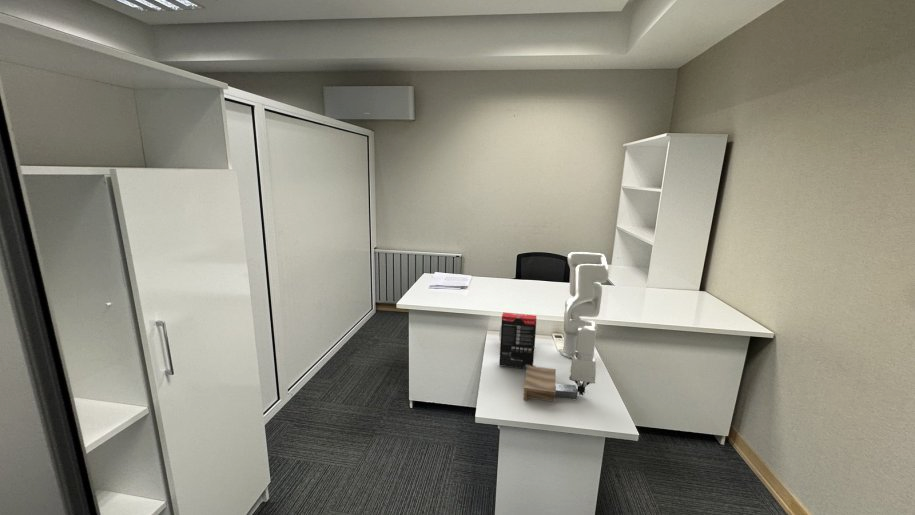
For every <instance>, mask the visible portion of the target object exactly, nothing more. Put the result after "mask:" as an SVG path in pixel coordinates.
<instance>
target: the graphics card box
mask: <svg viewBox="0 0 915 515" xmlns="http://www.w3.org/2000/svg"><path fill="white" fill-rule="evenodd" d="M500 327H501V341H499V342H500V345H499V346H500V348H499V361H498V362H499V366H501V367H508V368H515V369H523V370H527V366H534V359H535V358H534V357H535V345H536V335H537V332H536V331H537V330H536V329H537V315H533V314H522V313H515V312H514V313H511V312H502V314H501V325H500Z"/></svg>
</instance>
